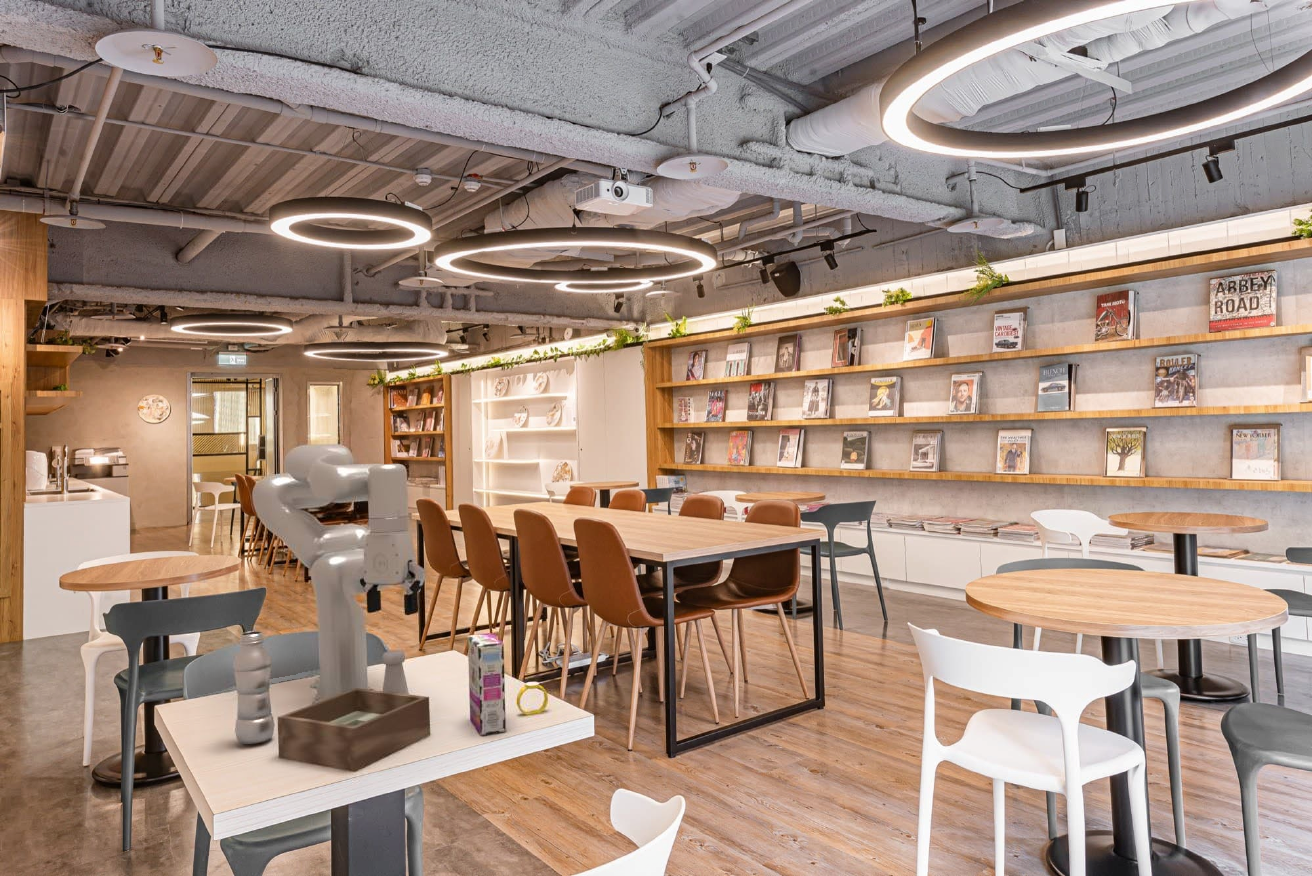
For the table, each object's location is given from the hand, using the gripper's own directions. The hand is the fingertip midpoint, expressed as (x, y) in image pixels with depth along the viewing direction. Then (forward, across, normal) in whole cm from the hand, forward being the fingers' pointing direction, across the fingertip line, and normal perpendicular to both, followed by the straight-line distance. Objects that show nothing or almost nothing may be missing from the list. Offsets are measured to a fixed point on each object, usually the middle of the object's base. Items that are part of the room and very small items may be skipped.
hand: (392, 612), depth 163 cm
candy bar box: (+21, +21, +2) cm, 29 cm away
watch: (+21, +25, +11) cm, 34 cm away
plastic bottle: (+21, -15, -20) cm, 33 cm away
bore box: (+21, +5, -15) cm, 26 cm away
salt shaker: (+21, 0, 0) cm, 21 cm away
